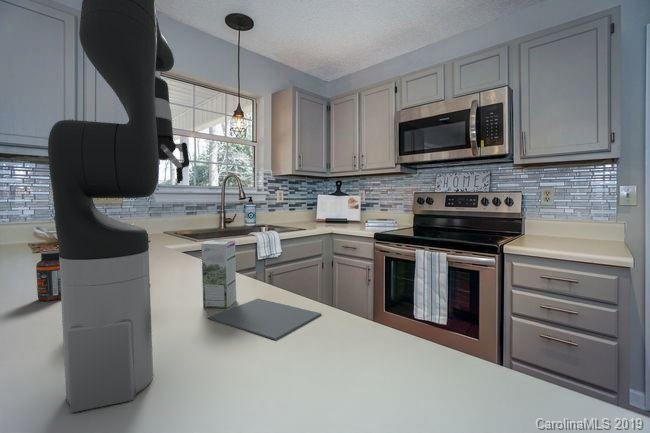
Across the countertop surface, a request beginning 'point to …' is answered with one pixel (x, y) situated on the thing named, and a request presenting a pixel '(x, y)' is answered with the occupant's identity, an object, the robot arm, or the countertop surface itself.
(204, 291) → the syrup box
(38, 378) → the countertop surface
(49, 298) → the supplement bottle
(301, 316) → the mat
